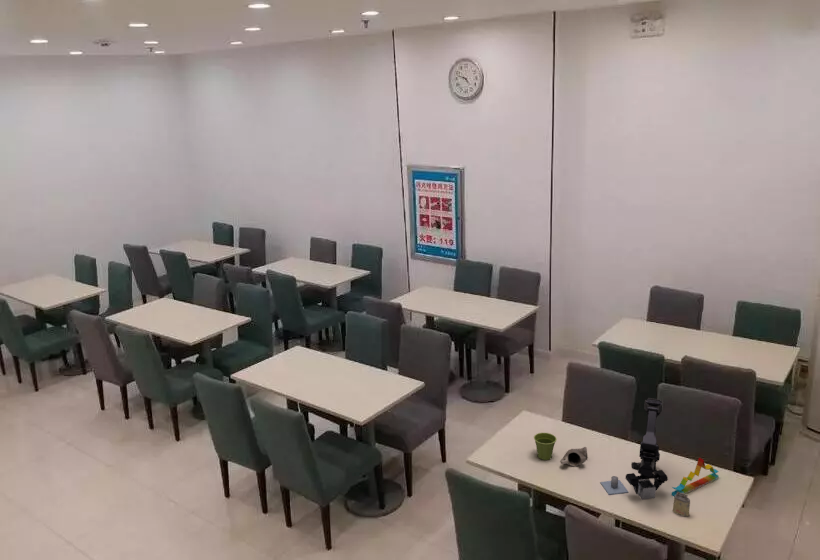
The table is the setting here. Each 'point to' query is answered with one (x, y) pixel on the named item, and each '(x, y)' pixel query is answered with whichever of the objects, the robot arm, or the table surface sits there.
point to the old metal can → (681, 504)
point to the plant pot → (545, 445)
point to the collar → (646, 489)
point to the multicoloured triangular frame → (698, 483)
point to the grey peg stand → (614, 486)
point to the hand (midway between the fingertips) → (645, 492)
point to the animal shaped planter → (575, 457)
